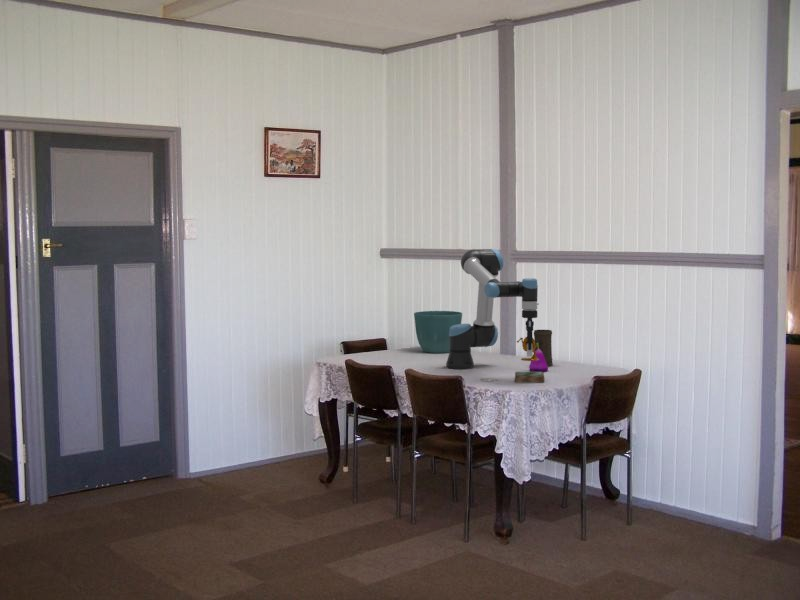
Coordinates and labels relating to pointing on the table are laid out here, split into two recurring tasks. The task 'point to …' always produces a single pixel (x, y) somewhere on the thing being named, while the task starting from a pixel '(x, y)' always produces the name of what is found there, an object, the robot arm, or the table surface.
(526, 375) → the podium
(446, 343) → the flower pot
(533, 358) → the figurine
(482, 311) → the robot arm
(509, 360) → the table surface
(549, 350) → the beer stein
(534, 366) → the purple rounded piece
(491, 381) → the coaster
